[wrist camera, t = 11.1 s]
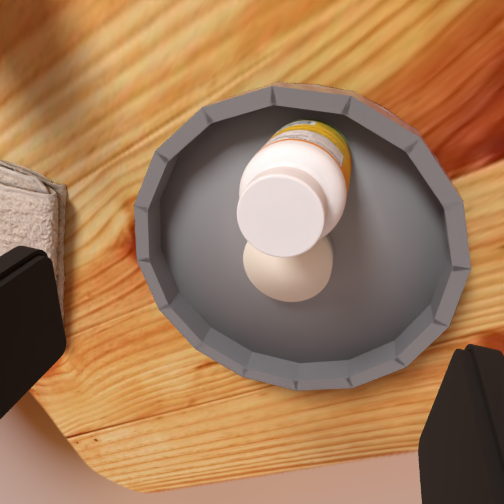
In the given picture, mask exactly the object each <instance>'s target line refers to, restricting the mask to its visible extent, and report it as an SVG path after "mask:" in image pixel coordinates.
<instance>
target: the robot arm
mask: <svg viewBox="0 0 504 504" xmlns="http://www.w3.org/2000/svg"><path fill="white" fill-rule="evenodd" d="M65 348H66V337H65V332H64V326H63V320H62V314H61V309H60V303H59V297H58V291H57V286H56V280H55V274H54V268H53V263H52V260H51V259H50V258H48V255H47V253H46V252H45V251H43V250H40V249H36V248H31V247H27V246H17V247H15V248H13V249H11V250H10V251H8V252H6V253H5V254H3V255H1V256H0V419H1V418H2V417H3V416H4V415H5V414H6V413H7V412H8V411H9V410H10V409H11V408H12V407H13V406H14V405H15V404H16V403H17V402H18V400H20V398H21V397H22V396H23V395H24V394H25V393H26V392H27V391H28V390H29V389H30V388H31V387H32V386H33V385H34V384H35V383H36V382H37V381H38V380H39V379H40V378H41V377H42V376H43V375H44V374H45V373H46V372H47V371H48V370H49V369H50V368H51V367H52V366H53V365H54V364H55V363H56V362H57V360H58V359H59V358H60V357H61V356H62V355H63V353H64V351H65ZM418 456H419V469H420V482H421V495H422V504H504V356H503V354H502V352H501V351H499V350H495V349H491V348H486V347H482V346H477V345H473V344H469V345H467V346H466V348H465V350H462V349H456V350H455V352H454V354H453V356H452V359H451V361H450V364H449V366H448V369H447V371H446V374H445V376H444V379H443V381H442V384H441V386H440V389H439V391H438V394H437V396H436V399H435V401H434V404H433V406H432V409H431V411H430V414H429V416H428V419H427V422H426V424H425V427H424V429H423V432H422V434H421V437H420V441H419V449H418Z"/></svg>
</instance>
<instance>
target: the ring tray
mask: <svg viewBox="0 0 504 504" xmlns="http://www.w3.org/2000/svg"><path fill="white" fill-rule="evenodd" d="M304 118H313V119H319V120H323V121H326V122H328V123H330V124H332V125H333V126H335V127H336V128H337V129H338V130H339V131H340V132H341V133H342V134H343V135H344V137H345V138H346V140H347V142H348V143H349V146H350V149H351V153H352V171H351V177H350V183H349V188H348V194H347V200H346V204H345V208H344V211H343V214H342V216H341V218H340V220H339V222H338V223H337V225H336V226H335V227H334V228H333V229H332V230H331V231H330V232H329V233H328V234H327V235H326V236H324V237H323V238H321V239H319V240H318V241H317V243H316V244H315V245H314V246H313V247H312V248H310V249H309V250H308V251H306V252H304V253H303V254H300V255H297V256H294V257H287V258H280V257H273V256H270V255H267V254H264V253H262V252H260V251H259V250H257V249H256V248H254V247H253V246H252V245H251V244H250V243H249V242H248V241H247V240H246V239H245V237H244V236H243V234H242V232H241V230H240V228H239V225H238V221H237V205H238V201H239V199H240V198H239V187H240V181H241V178H242V175H243V172H244V170H245V168H246V166H247V165H248V163H249V162H250V161H251V159H252V158H253V157H254V156H255V154H256V153H257V152H258V151H259V150H260V149H261V148H262V147H263V146H264V145H265V144H266V143H267V142H268V141H269V140H270V139H271V138H272V136H273V135H274V134H275V133H276V132H277V131H279V130H280V129H281V128H282V127H284V126H285V125H287V124H288V123H290V122H293V121H295V120H298V119H304ZM134 214H135V234H136V253H137V262H138V264H139V266H140V268H141V270H142V273H143V275H144V277H145V279H146V282H147V284H148V286H149V288H150V291H151V293H152V295H153V297H154V299H155V302H156V304H157V306H158V308H159V310H160V311H161V312H162V313H163V314H164V315H165V316H166V318H167V319H168V320H169V321H170V322H171V323H172V324H173V325H174V326H175V327H176V328H177V330H178V331H179V332H180V333H181V334H182V335H183V336H184V337H185V338H186V339H187V340H188V341H189V343H190V344H191V345H192V346H193V347H194V348H195V349H196V350H198V351H200V352H201V353H203V354H205V355H206V356H208V357H210V358H211V359H213V360H215V361H217V362H218V363H220V364H222V365H223V366H225V367H227V368H228V369H230V370H232V371H233V372H235V373H237V374H239V375H240V376H242V377H245V378H249V379H253V380H257V381H261V382H265V383H268V384H272V385H276V386H280V387H284V388H288V389H292V390H296V391H300V390H322V389H345V388H354V387H357V386H360V385H362V384H365V383H367V382H370V381H372V380H375V379H377V378H380V377H382V376H385V375H388V374H390V373H393V372H395V371H398V370H400V369H403V368H405V367H407V366H408V365H409V364H410V363H411V362H412V361H413V360H414V359H415V358H416V357H417V356H419V355H420V354H421V353H422V352H423V351H424V350H425V349H426V348H427V347H428V346H429V345H430V344H431V343H432V342H433V341H434V340H435V339H437V338H438V337H439V336H440V335H441V334H442V333H443V332H444V331H445V330H446V329H447V328H448V327H449V325H450V323H451V320H452V317H453V315H454V312H455V310H456V307H457V304H458V302H459V299H460V297H461V294H462V291H463V289H464V286H465V284H466V281H467V278H468V276H469V273H470V271H471V264H470V256H469V247H468V238H467V230H466V221H465V213H464V204H463V200H462V198H461V196H460V194H459V192H458V190H457V188H456V187H455V185H454V184H453V182H452V181H451V179H450V178H449V176H448V175H447V173H446V172H445V170H444V169H443V167H442V166H441V164H440V162H439V160H438V159H437V157H436V155H435V154H434V153H433V151H432V150H431V149H430V148H429V146H428V145H427V143H426V142H425V140H424V139H423V137H422V136H421V134H420V133H419V131H418V130H417V129H415V128H413V127H412V126H410V125H408V124H407V123H406V122H405V121H403V120H402V119H400V118H399V117H398V116H396V115H395V114H393V113H392V112H390V111H389V110H388V109H386V108H385V107H383V106H381V105H379V104H377V103H375V102H373V101H371V100H369V99H367V98H365V97H363V96H361V95H359V94H357V93H356V92H354V91H349V90H343V89H339V88H333V87H328V86H323V85H318V84H300V83H284V82H277V83H274V84H271V85H267V86H264V87H261V88H257V89H253V90H249V91H246V92H244V93H241V94H238V95H235V96H232V97H229V98H226V99H222V100H219V101H216V102H213V103H211V104H208V105H206V106H204V107H202V108H201V109H200V110H199V111H198V112H197V113H196V114H195V115H194V116H192V117H191V118H190V119H189V120H188V121H187V122H186V123H185V124H184V125H183V126H182V127H181V128H180V129H178V130H177V131H176V132H175V133H174V134H173V135H172V136H171V137H170V138H169V139H168V140H167V141H166V142H164V143H163V144H162V145H161V146H160V147H159V148H158V149H157V150H156V151H155V153H154V155H153V158H152V160H151V163H150V166H149V168H148V171H147V173H146V176H145V178H144V181H143V184H142V186H141V189H140V191H139V194H138V196H137V199H136V202H135V204H134Z"/></svg>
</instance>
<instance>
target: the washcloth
mask: <svg viewBox="0 0 504 504" xmlns="http://www.w3.org/2000/svg"><path fill="white" fill-rule="evenodd" d="M66 197H67V190H66V185H65V184H63V185H60V184H56V183H52V181H51V180H50V179H48V178H46V177H45V176H44V175H42V174H41V173H39V172H37V171H35V170H31V169H28V168H26V167H23V166H21V165H18V164H14V163H11V162H7V161H3V160H0V256H1V255H3V254H5V253H6V252H8V251H10V250H11V249H13V248H15V247H17V246H27V247H31V248H36V249H40V250H43V251H45V252H46V253H47V255H48V258H50V259H51V260H52V263H53V268H54V274H55V280H56V286H57V291H58V297H59V303H60V309H61V314H62V320H63V317H64V308H63V307H64V304H63V301H64V290H65V287H64V281H65V276H64V273H65V272H64V267H65V266H64V260H63V258H64V250H65V247H64V245H63V244H64V233H65V230H64V227H65V213H66V209H65V208H66ZM63 326H64V323H63Z"/></svg>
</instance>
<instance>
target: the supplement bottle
mask: <svg viewBox="0 0 504 504" xmlns="http://www.w3.org/2000/svg"><path fill="white" fill-rule="evenodd" d="M351 171H352V153H351V149H350V146H349V143H348V142H347V140H346V138H345V137H344V135H343V134H342V133H341V132H340V131H339V130H338V129H337V128H336V127H335V126H333V125H332V124H330V123H328V122H326V121H323V120H319V119H313V118H304V119H298V120H295V121H293V122H290V123H288V124H287V125H285V126H284V127H282V128H281V129H280V130H279V131H277V132H276V133H275V134H274V135H273V136H272V138H271V139H270V140H269V141H268V142H267V143H266V144H265V145H264V146H263V147H262V148H261V149H260V150H259V151H258V152H257V153H256V154H255V156H254V157H253V158H252V159H251V161H250V162H249V163H248V165H247V166H246V168H245V170H244V172H243V175H242V178H241V181H240V187H239V198H240V199H239V201H238V205H237V221H238V225H239V228H240V230H241V232H242V234H243V236H244V237H245V239H246V240H247V241H248V242H249V243H250V244H251V245H252V246H253V247H254V248H256V249H257V250H259V251H260V252H262V253H264V254H267V255H270V256H273V257H280V258H287V257H294V256H297V255H300V254H303V253H304V252H306V251H308V250H309V249H310V248H312V247H313V246H314V245H315V244H316V243H317V241H318V240H319V239H321V238H323V237H324V236H326V235H327V234H328V233H329V232H330V231H331V230H332V229H333V228H334V227H335V226H336V225H337V223H338V222H339V220H340V218H341V216H342V214H343V211H344V208H345V204H346V200H347V194H348V188H349V183H350V177H351Z"/></svg>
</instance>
